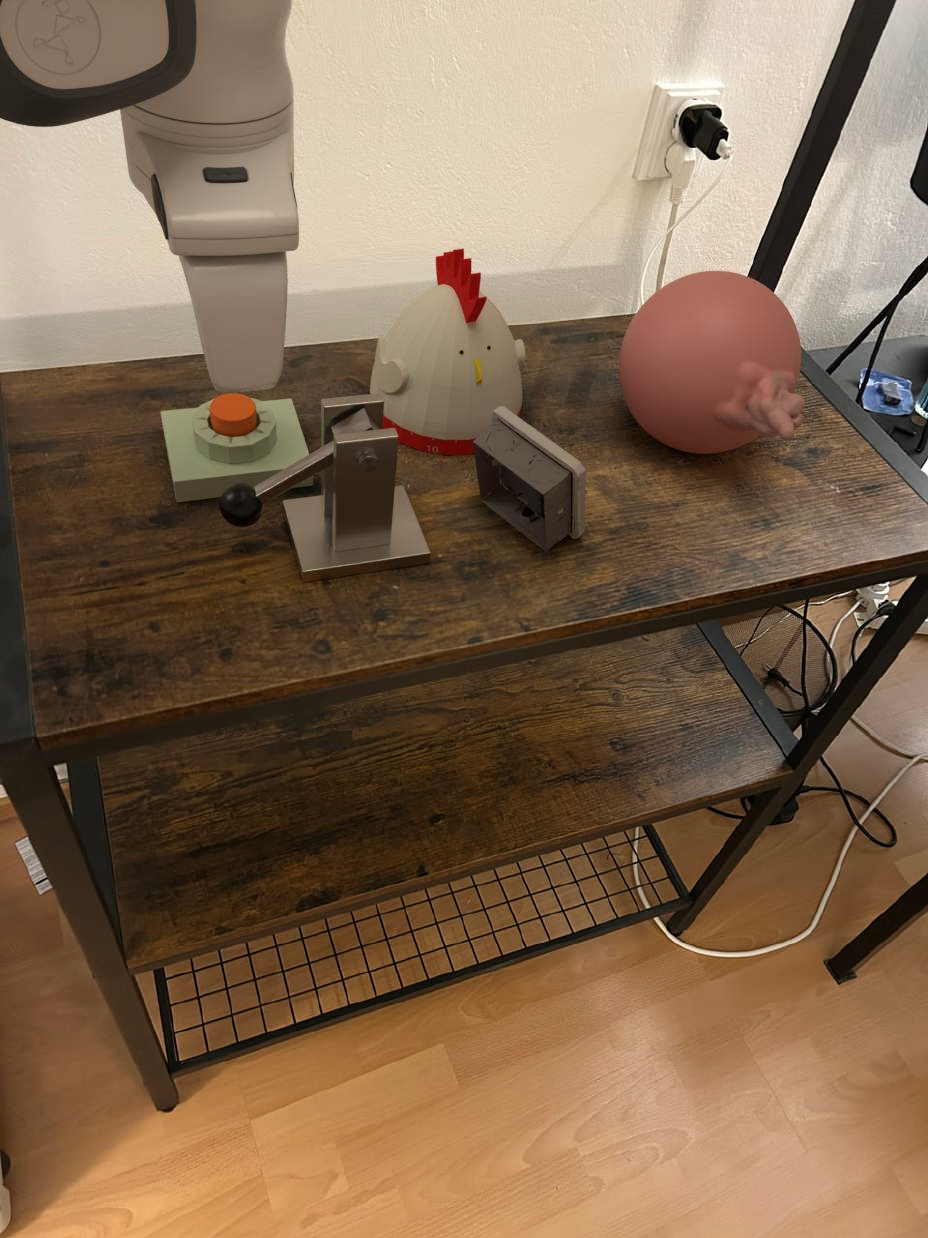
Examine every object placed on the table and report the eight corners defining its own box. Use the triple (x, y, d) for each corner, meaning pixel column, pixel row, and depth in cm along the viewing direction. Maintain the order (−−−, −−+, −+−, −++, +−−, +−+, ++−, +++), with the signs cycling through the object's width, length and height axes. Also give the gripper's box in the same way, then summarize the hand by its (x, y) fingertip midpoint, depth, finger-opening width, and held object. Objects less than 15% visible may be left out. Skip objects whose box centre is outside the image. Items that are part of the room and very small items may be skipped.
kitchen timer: (402, 467, 83) (414, 312, 72) (347, 374, 91) (351, 220, 79) (544, 438, 88) (577, 288, 76) (481, 352, 95) (503, 204, 84)
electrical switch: (585, 538, 80) (601, 455, 72) (541, 570, 77) (554, 487, 70) (504, 477, 84) (513, 392, 76) (461, 506, 81) (465, 421, 74)
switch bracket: (302, 582, 73) (300, 462, 64) (282, 510, 78) (277, 389, 69) (429, 563, 76) (443, 445, 67) (402, 495, 81) (412, 376, 72)
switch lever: (239, 542, 71) (213, 518, 69) (232, 513, 73) (207, 488, 71) (391, 455, 69) (370, 427, 67) (380, 427, 71) (359, 399, 69)
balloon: (663, 536, 81) (721, 383, 69) (577, 391, 93) (614, 240, 81) (820, 513, 85) (899, 365, 74) (718, 377, 97) (772, 232, 85)
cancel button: (215, 440, 77) (213, 422, 76) (208, 412, 79) (206, 394, 78) (260, 435, 78) (259, 418, 77) (252, 408, 80) (251, 390, 79)
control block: (176, 502, 77) (170, 464, 74) (163, 431, 83) (157, 392, 80) (313, 485, 80) (312, 448, 77) (292, 418, 86) (290, 380, 83)
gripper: (131, 66, 57) (157, 280, 68) (171, 242, 45) (196, 470, 55) (239, 67, 59) (248, 275, 69) (306, 237, 47) (305, 459, 57)
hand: (226, 364), depth 62 cm, fingers closed
